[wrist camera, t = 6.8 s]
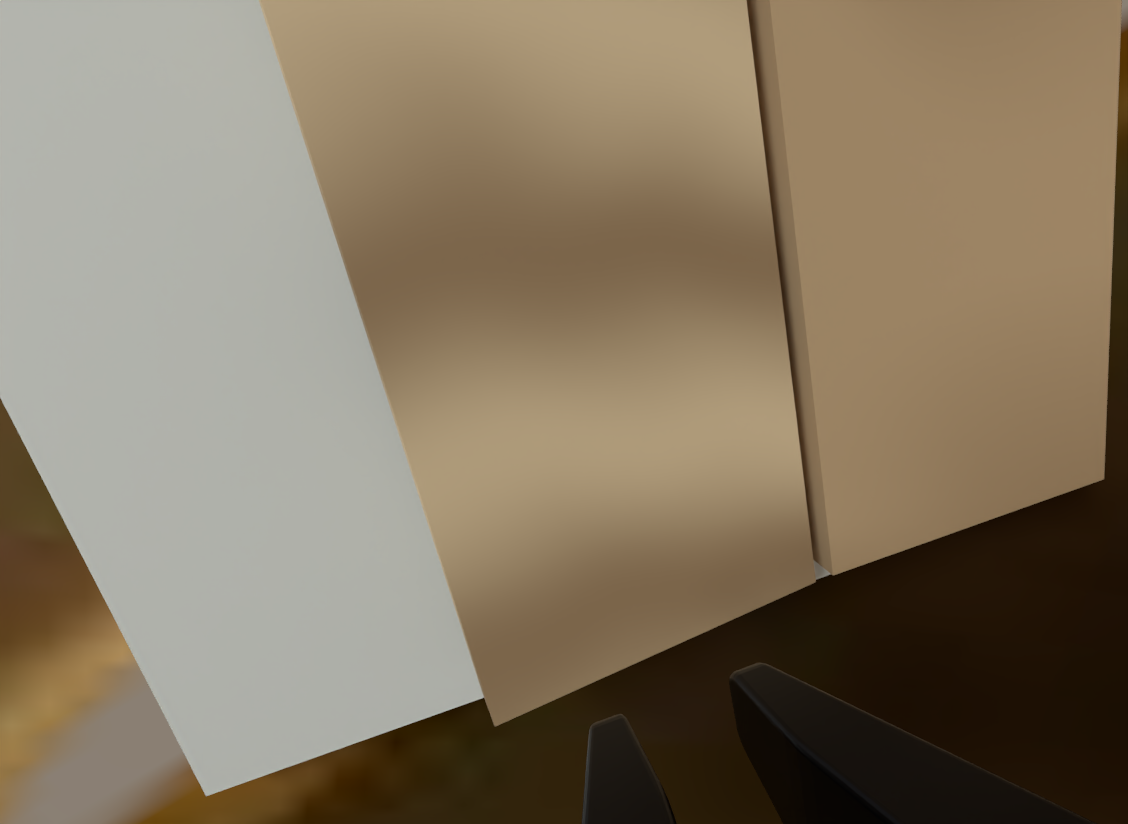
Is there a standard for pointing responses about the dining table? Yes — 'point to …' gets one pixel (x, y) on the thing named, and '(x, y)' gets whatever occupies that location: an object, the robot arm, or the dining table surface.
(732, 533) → the click plank
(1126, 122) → the dining table surface
